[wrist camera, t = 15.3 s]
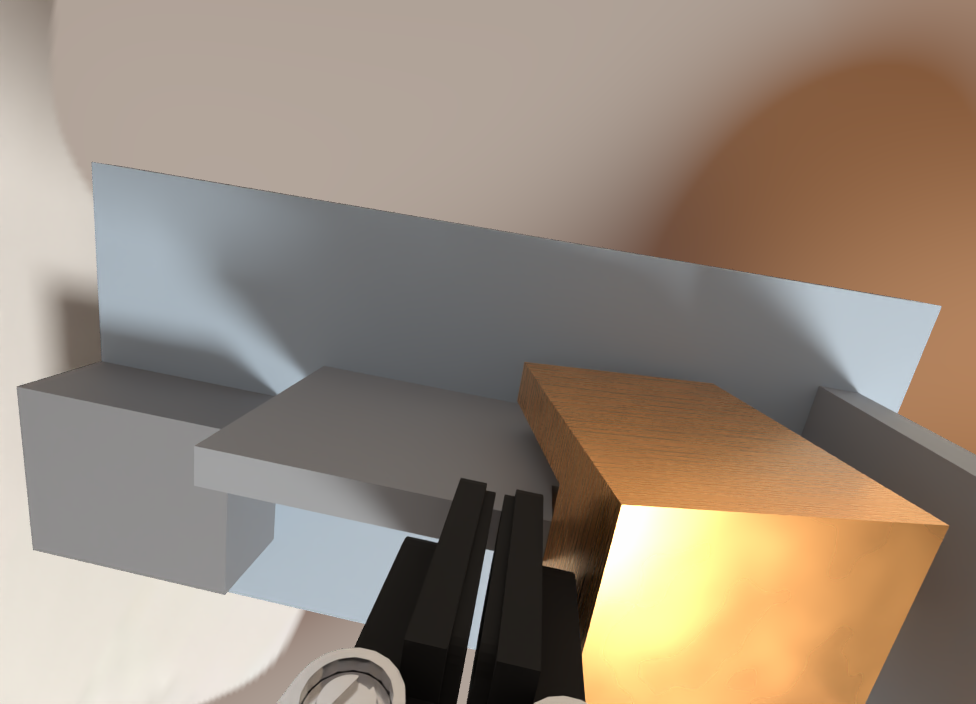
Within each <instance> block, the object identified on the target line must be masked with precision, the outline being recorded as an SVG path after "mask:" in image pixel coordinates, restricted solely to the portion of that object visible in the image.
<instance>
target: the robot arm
mask: <svg viewBox="0 0 976 704" xmlns="http://www.w3.org/2000/svg"><path fill="white" fill-rule="evenodd" d="M486 488H487V483H484V482H480V481H475V480H470V479H465V478H460V481H459V484H458V487H457V489H456V492H455V495H454V498H453V501H452V504H451V507H450V509H449V512H448V515H447V518H446V521H445V524H444V527H443V530H442V532H441V535H440V538H439V541H438V543H437V542H432V541H428V540H423V539H418V538H414V537H409V536H407V537H406V538H405V539H404V541H403V543H402V545H401V547H400V549H399V552H398V554H397V556H396V558H395V560H394V562H393V565H392V567H391V569H390V571H389V573H388V575H387V578H386V580H385V582H384V584H383V586H382V588H381V591H380V593H379V595H378V597H377V599H376V601H375V604H374V606H373V608H372V610H371V612H370V614H369V617H368V619H367V621H366V623H365V626H364V628H363V630H362V632H361V634H360V637H359V638H358V641H357V643H356V645H355V647H354V648H342V649H339V650H335V651H332V652H329V653H326V654H324V655H322V656H321V657H319V658H317V659H316V660H314V661H312V662H311V663H310V664H308V665H307V667H305V669H304V670H303V671H302V672H301V673H300V674H299V675H298V676H297V677H296V678H295V679H294V681H293V682H292V684H291V685H290V686H289V687H288V689H287V690H286V691H285V693H284V694H283V695H282V697H281V698H280V699H279V701H278V702H277V703H276V704H457V699H458V694H459V688H460V683H461V678H462V673H463V668H464V662H465V657H466V652H467V647H468V642H469V636H470V631H471V626H472V621H473V615H474V610H475V605H476V599H477V594H478V588H479V583H480V578H481V572H482V567H483V561H484V556H485V551H486V545H487V540H488V534H489V529H490V523H491V518H492V513H493V507H494V502H495V496H496V492H492V491H487V490H486ZM543 501H544V497H543V494H538V493H533V492H528V491H523V490H518V489H516V493H515V496H511V495H506V494H505V495H504V500H503V506H502V511H501V516H500V521H499V527H498V532H497V537H496V542H495V548H494V553H493V558H492V563H491V569H490V574H489V579H488V584H487V590H486V595H485V600H484V606H483V611H482V616H481V622H480V628H479V634H478V640H477V645H476V652H475V657H474V663H473V669H472V675H471V681H470V687H469V693H468V698H467V704H588V703H586V701H585V689H584V676H583V664H582V651H581V639H580V626H579V614H578V601H577V589H576V579H575V574H574V572H570V571H566V570H561V569H556V568H552V567H547V566H543Z"/></svg>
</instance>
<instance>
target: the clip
mask: <svg viewBox="0 0 976 704" xmlns="http://www.w3.org/2000/svg"><path fill="white" fill-rule="evenodd" d="M517 402H518V404H519V406H520V408H521V410H522V411H523V413H524V415H525V417H526V419H527V421H528V423H529V425H530V427H531V429H532V431H533V433H534V435H535V437H536V439H537V441H538V443H539V445H540V447H541V449H542V451H543V453H544V455H545V457H546V459H547V461H548V463H549V465H550V467H551V469H552V471H553V473H554V474H555V476H556V478H557V480H558V482H559V484H560V485H559V489H558V494H557V498H556V503H555V507H554V512H553V516H552V521H551V525H550V530H549V534H548V539H547V543H546V548H545V552H544V557H543V566H547V567H552V568H556V569H561V570H566V571H570V572H574V574H575V579H576V589H577V601H578V614H579V626H580V639H581V651H582V664H583V676H584V689H585V701H586V703H588V704H865V703H866V701H867V699H868V697H869V694H870V692H871V690H872V688H873V686H874V684H875V682H876V680H877V678H878V675H879V673H880V671H881V669H882V667H883V665H884V663H885V661H886V659H887V656H888V654H889V652H890V650H891V648H892V646H893V644H894V642H895V640H896V638H897V635H898V633H899V631H900V629H901V627H902V625H903V623H904V621H905V619H906V616H907V614H908V612H909V610H910V608H911V606H912V604H913V602H914V600H915V597H916V595H917V593H918V591H919V589H920V587H921V585H922V583H923V581H924V578H925V576H926V574H927V572H928V570H929V568H930V566H931V564H932V562H933V560H934V557H935V555H936V553H937V551H938V549H939V547H940V545H941V543H942V541H943V538H944V536H945V534H946V532H947V530H948V528H949V525H948V524H946V523H944V522H943V521H941V520H939V519H938V518H936V517H934V516H933V515H931V514H929V513H928V512H926V511H924V510H923V509H921V508H919V507H918V506H916V505H914V504H913V503H911V502H909V501H908V500H906V499H904V498H903V497H901V496H899V495H898V494H896V493H894V492H893V491H891V490H889V489H888V488H886V487H884V486H883V485H881V484H879V483H878V482H876V481H874V480H873V479H871V478H869V477H868V476H866V475H864V474H863V473H861V472H859V471H858V470H856V469H854V468H853V467H851V466H849V465H848V464H846V463H844V462H843V461H841V460H839V459H838V458H836V457H834V456H833V455H831V454H829V453H828V452H826V451H824V450H823V449H821V448H819V447H818V446H816V445H814V444H813V443H811V442H809V441H808V440H806V439H805V438H803V437H801V436H800V435H798V434H796V433H795V432H793V431H791V430H790V429H788V428H786V427H785V426H783V425H781V424H780V423H778V422H776V421H775V420H773V419H771V418H770V417H768V416H766V415H765V414H763V413H761V412H760V411H758V410H756V409H755V408H753V407H751V406H750V405H748V404H746V403H745V402H743V401H741V400H740V399H738V398H736V397H735V396H733V395H731V394H730V393H728V392H726V391H725V390H723V389H721V388H720V387H718V386H716V385H715V384H713V383H704V382H695V381H687V380H678V379H669V378H661V377H652V376H643V375H634V374H626V373H617V372H608V371H600V370H591V369H582V368H573V367H565V366H556V365H547V364H539V363H530V362H524V367H523V372H522V377H521V383H520V388H519V393H518V399H517Z"/></svg>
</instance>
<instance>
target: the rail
mask: <svg viewBox="0 0 976 704" xmlns="http://www.w3.org/2000/svg"><path fill="white" fill-rule="evenodd" d="M92 179H93V200H94V219H95V239H96V259H97V279H98V298H99V318H100V338H101V358H102V361H101V362H98V363H94V364H91V365H87V366H84V367H81V368H77V369H74V370H71V371H67V372H64V373H61V374H57V375H54V376H51V377H47V378H44V379H41V380H37V381H34V382H31V383H27V384H24V385H21V386H17V395H18V405H19V415H20V425H21V435H22V445H23V455H24V465H25V475H26V485H27V495H28V505H29V515H30V525H31V535H32V545H33V550H36V551H40V552H45V553H49V554H53V555H57V556H62V557H66V558H70V559H74V560H79V561H83V562H87V563H92V564H96V565H100V566H104V567H109V568H113V569H117V570H121V571H126V572H130V573H134V574H138V575H143V576H147V577H151V578H156V579H160V580H164V581H168V582H173V583H177V584H181V585H185V586H190V587H194V588H198V589H203V590H207V591H211V592H215V593H220V594H224V595H225V594H226V593H227V592H231V593H235V594H239V595H243V596H248V597H252V598H256V599H261V600H265V601H269V602H273V603H278V604H282V605H286V606H291V607H295V608H299V609H303V610H308V611H312V612H316V613H321V614H325V615H329V616H334V617H338V618H342V619H346V620H351V621H355V622H359V623H363V624H365V623H366V621H367V619H368V617H369V614H370V612H371V610H372V608H373V606H374V604H375V601H376V599H377V597H378V595H379V593H380V591H381V588H382V586H383V584H384V582H385V580H386V578H387V575H388V573H389V571H390V569H391V567H392V565H393V562H394V560H395V558H396V556H397V554H398V552H399V549H400V547H401V545H402V543H403V541H404V539H405V538H406V537H407V536H409V537H414V538H418V539H423V540H428V541H432V542H437V543H438V541H439V538H440V535H441V532H442V530H443V527H444V524H445V521H446V518H447V515H448V512H449V509H450V507H451V504H452V501H453V498H454V495H455V492H456V489H457V487H458V484H459V481H460V478H465V479H470V480H475V481H480V482H484V483H487V488H486V490H487V491H492V492H496V496H495V502H494V507H493V513H492V518H491V523H490V529H489V534H488V540H487V545H486V551H485V556H484V561H483V567H482V572H481V578H480V583H479V588H478V594H477V599H476V605H475V610H474V615H473V621H472V626H471V631H470V636H469V642H468V647H467V648H471V649H475V650H476V645H477V640H478V634H479V628H480V622H481V616H482V611H483V606H484V600H485V595H486V590H487V584H488V579H489V574H490V569H491V563H492V558H493V553H494V548H495V542H496V537H497V532H498V527H499V521H500V516H501V511H502V506H503V500H504V495H505V494H506V495H511V496H515V493H516V489H518V490H523V491H528V492H533V493H538V494H543V497H544V501H543V557H544V552H545V548H546V543H547V539H548V534H549V530H550V525H551V521H552V516H553V512H554V507H555V503H556V498H557V494H558V489H559V485H560V484H559V482H558V480H557V478H556V476H555V474H554V473H553V471H552V469H551V467H550V465H549V463H548V461H547V459H546V457H545V455H544V453H543V451H542V449H541V447H540V445H539V443H538V441H537V439H536V437H535V435H534V433H533V431H532V429H531V427H530V425H529V423H528V421H527V419H526V417H525V415H524V413H523V411H522V410H521V408H520V406H519V404H518V402H517V399H518V393H519V388H520V383H521V377H522V372H523V367H524V362H530V363H539V364H547V365H556V366H565V367H573V368H582V369H591V370H600V371H608V372H617V373H626V374H634V375H643V376H652V377H661V378H669V379H678V380H687V381H695V382H704V383H713V384H715V385H716V386H718V387H720V388H721V389H723V390H725V391H726V392H728V393H730V394H731V395H733V396H735V397H736V398H738V399H740V400H741V401H743V402H745V403H746V404H748V405H750V406H751V407H753V408H755V409H756V410H758V411H760V412H761V413H763V414H765V415H766V416H768V417H770V418H771V419H773V420H775V421H776V422H778V423H780V424H781V425H783V426H785V427H786V428H788V429H790V430H791V431H793V432H795V433H796V434H798V435H800V436H801V437H803V438H805V439H806V440H808V441H809V442H811V443H813V444H814V445H816V446H818V447H819V448H821V449H823V450H824V451H826V452H828V453H829V454H831V455H833V456H834V457H836V458H838V459H839V460H841V461H843V462H844V463H846V464H848V465H849V466H851V467H853V468H854V469H856V470H858V471H859V472H861V473H863V474H864V475H866V476H868V477H869V478H871V479H873V480H874V481H876V482H878V483H879V484H881V485H883V486H884V487H886V488H888V489H889V490H891V491H893V492H894V493H896V494H898V495H899V496H901V497H903V498H904V499H906V500H908V501H909V502H911V503H913V504H914V505H916V506H918V507H919V508H921V509H923V510H924V511H926V512H928V513H929V514H931V515H933V516H934V517H936V518H938V519H939V520H941V521H943V522H944V523H946V524H948V525H949V528H948V530H947V532H946V534H945V536H944V538H943V541H942V543H941V545H940V547H939V549H938V551H937V553H936V555H935V557H934V560H933V562H932V564H931V566H930V568H929V570H928V572H927V574H926V576H925V578H924V581H923V583H922V585H921V587H920V589H919V591H918V593H917V595H916V597H915V600H914V602H913V604H912V606H911V608H910V610H909V612H908V614H907V616H906V619H905V621H904V623H903V625H902V627H901V629H900V631H899V633H898V635H897V638H896V640H895V642H894V644H893V646H892V648H891V650H890V652H889V654H888V656H887V659H886V661H885V663H884V665H883V667H882V669H881V671H880V673H879V675H878V678H877V680H876V682H875V684H874V686H873V688H872V690H871V692H870V694H869V697H868V699H867V701H866V703H865V704H976V455H975V454H973V453H971V452H969V451H968V450H965V449H964V448H962V447H960V446H958V445H956V444H954V443H952V442H950V441H949V440H947V439H945V438H942V437H941V436H939V435H937V434H935V433H933V432H932V431H930V430H928V429H926V428H924V427H922V426H920V425H918V424H916V423H914V422H913V421H911V420H909V419H907V418H905V417H903V416H901V415H899V414H898V411H899V408H900V406H901V403H902V401H903V399H904V396H905V394H906V391H907V389H908V387H909V384H910V381H911V379H912V377H913V374H914V372H915V370H916V367H917V365H918V362H919V360H920V358H921V355H922V353H923V350H924V348H925V345H926V343H927V341H928V338H929V336H930V333H931V331H932V328H933V326H934V324H935V321H936V319H937V316H938V314H939V311H940V309H941V306H938V305H933V304H927V303H923V302H918V301H913V300H907V299H901V298H895V297H888V296H883V295H877V294H871V293H866V292H860V291H854V290H848V289H842V288H836V287H830V286H823V285H818V284H812V283H806V282H800V281H795V280H789V279H782V278H777V277H771V276H765V275H759V274H753V273H748V272H742V271H736V270H730V269H724V268H718V267H712V266H706V265H700V264H694V263H689V262H683V261H677V260H671V259H665V258H659V257H653V256H647V255H641V254H635V253H630V252H623V251H617V250H612V249H606V248H600V247H593V246H588V245H582V244H576V243H571V242H565V241H559V240H553V239H547V238H540V237H534V236H529V235H523V234H517V233H512V232H506V231H499V230H494V229H488V228H482V227H475V226H470V225H464V224H458V223H452V222H447V221H441V220H434V219H429V218H423V217H417V216H411V215H405V214H399V213H394V212H387V211H382V210H376V209H370V208H364V207H358V206H352V205H346V204H341V203H335V202H329V201H322V200H317V199H311V198H305V197H299V196H293V195H287V194H282V193H275V192H270V191H264V190H258V189H252V188H246V187H240V186H234V185H229V184H222V183H217V182H211V181H205V180H199V179H193V178H187V177H181V176H175V175H169V174H164V173H157V172H151V171H145V170H140V169H134V168H128V167H122V166H116V165H109V164H102V163H95V162H92Z"/></svg>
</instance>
